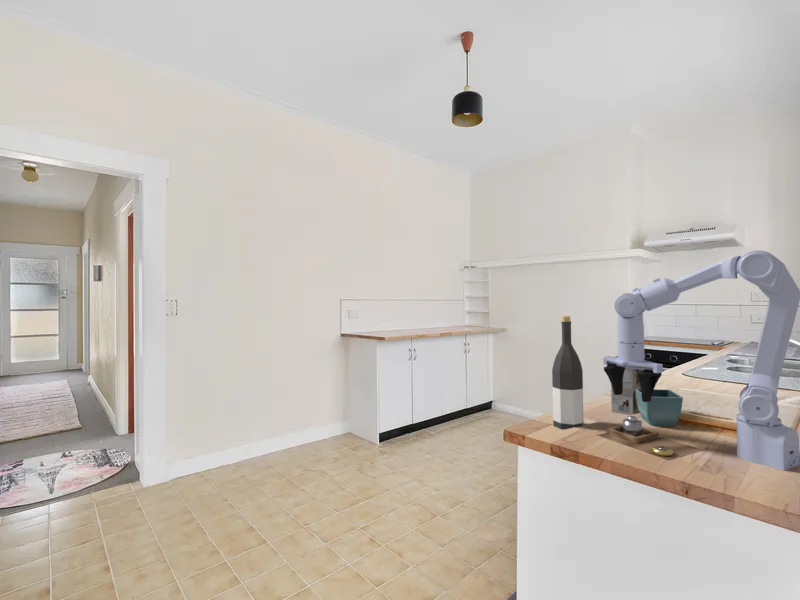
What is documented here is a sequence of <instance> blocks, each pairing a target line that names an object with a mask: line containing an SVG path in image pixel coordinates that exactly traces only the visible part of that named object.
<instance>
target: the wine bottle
mask: <svg viewBox="0 0 800 600" xmlns="http://www.w3.org/2000/svg"><path fill="white" fill-rule="evenodd" d="M560 323H561V345H560V348H559V350H558V352H557V353H556V356H555V358H554V361H553V365H552V370H551V375H552V378H551V379H552V383H551V384H552V418H553V419H552V421H553V422H552V423H553V426H554V427H555V428H558V429H561V430H569V429H574V428H579V427H583V426H584V420H585V419H584V381H583V380H584V379H583V378H584V377H583V376H584V375H583V373H584V371H583V367H582V363H581V362H582V361H581V360H580V358H579V355H578V353H577V351H576V350H575V348H574V347H573V344H572V321H571V316H569V315H563V316H562V317H561V321H560Z"/></svg>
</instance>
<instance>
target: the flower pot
mask: <svg viewBox="0 0 800 600" xmlns="http://www.w3.org/2000/svg"><path fill="white" fill-rule="evenodd" d="M635 390H636V398H637V404H638V409H639V411H638V413H640V416H641V418H642V420H643V421H645V422H646V423H647V424H649V425H650V426H653V427H654V426H659V427H662V426H663V427H675V426H676V425H677V423H678V422H679V420H680V418H681V414H682V409H683V399H684V396H682V395H680V394H678V393H677V392H675V391H673V390H671V389H660V388H659V389H655V388H654V390H653V393H652V397H651V401H648V402H643V401H642V393H641V389H635Z"/></svg>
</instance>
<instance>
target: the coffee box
mask: <svg viewBox="0 0 800 600" xmlns="http://www.w3.org/2000/svg"><path fill="white" fill-rule="evenodd" d="M615 357H618V355H617V356H615ZM638 372H642V370H638V369H632V368H626V367H625V371H624V375H623V391H622V394H620V395H614V391H613V388H612V385H611V384H610V387H611V388H610V393H611V395H610V396H611V397H610V398H611V412H613V413H619V414H625V415H628V416H634V415H636V414H637V413H639V409H638V404H637V398H636V390H635V389H641V383H640V379H639V376H638Z"/></svg>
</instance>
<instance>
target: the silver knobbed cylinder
mask: <svg viewBox="0 0 800 600" xmlns="http://www.w3.org/2000/svg"><path fill="white" fill-rule="evenodd" d="M642 423H643V421H641V420H639V419H638V418H637V416H635V415H627V418H624V419H623V420H622V425H623V433H625V434H628V435H631V436H635V437H637V436H641V435H642V428H643V425H642Z"/></svg>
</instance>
